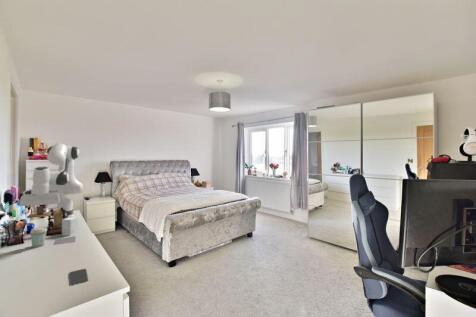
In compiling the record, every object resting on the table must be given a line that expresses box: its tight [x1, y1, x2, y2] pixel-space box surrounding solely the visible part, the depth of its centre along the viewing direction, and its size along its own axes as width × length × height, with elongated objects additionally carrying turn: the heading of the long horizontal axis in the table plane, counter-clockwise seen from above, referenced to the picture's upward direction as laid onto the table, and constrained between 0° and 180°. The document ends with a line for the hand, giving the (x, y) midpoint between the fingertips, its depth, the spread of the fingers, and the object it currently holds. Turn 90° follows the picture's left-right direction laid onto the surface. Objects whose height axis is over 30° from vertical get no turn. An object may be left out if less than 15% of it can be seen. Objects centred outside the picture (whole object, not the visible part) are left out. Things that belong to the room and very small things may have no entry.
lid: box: [26, 205, 52, 219], centre depth 150 cm, size 11×11×6 cm
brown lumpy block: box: [46, 208, 66, 236], centre depth 178 cm, size 15×15×20 cm
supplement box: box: [61, 217, 79, 237], centre depth 175 cm, size 7×7×13 cm
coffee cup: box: [29, 226, 48, 249], centre depth 149 cm, size 8×9×12 cm
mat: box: [53, 235, 76, 246], centre depth 160 cm, size 14×12×1 cm
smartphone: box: [68, 268, 89, 286], centre depth 110 cm, size 7×1×15 cm
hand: (40, 211), depth 150 cm, fingers closed on lid, 3 cm apart
